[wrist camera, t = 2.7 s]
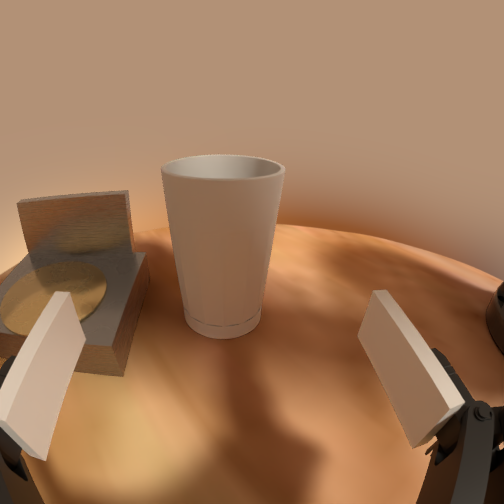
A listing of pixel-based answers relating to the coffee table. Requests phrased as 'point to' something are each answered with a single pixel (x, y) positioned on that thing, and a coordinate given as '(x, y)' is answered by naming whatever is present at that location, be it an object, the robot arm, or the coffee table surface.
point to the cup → (222, 237)
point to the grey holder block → (78, 275)
